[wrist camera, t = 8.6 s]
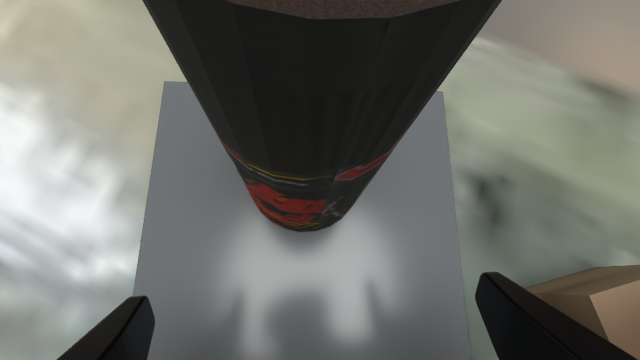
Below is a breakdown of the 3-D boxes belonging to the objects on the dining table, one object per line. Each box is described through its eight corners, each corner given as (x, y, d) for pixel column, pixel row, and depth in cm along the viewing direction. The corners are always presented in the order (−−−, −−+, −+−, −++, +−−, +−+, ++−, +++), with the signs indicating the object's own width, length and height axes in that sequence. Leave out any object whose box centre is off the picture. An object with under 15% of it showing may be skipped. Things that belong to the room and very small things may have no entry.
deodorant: (382, 182, 19) (665, -148, 4) (298, 256, 17) (302, 137, 3) (310, 105, 20) (344, -369, 5) (225, 170, 18) (-38, -230, 4)
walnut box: (640, 366, 18) (768, 397, 13) (552, 396, 17) (653, 441, 12) (594, 267, 19) (696, 262, 14) (512, 291, 18) (589, 295, 13)
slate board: (469, 396, 17) (475, 401, 16) (122, 401, 16) (116, 406, 15) (438, 96, 21) (442, 91, 20) (168, 87, 20) (164, 81, 20)
